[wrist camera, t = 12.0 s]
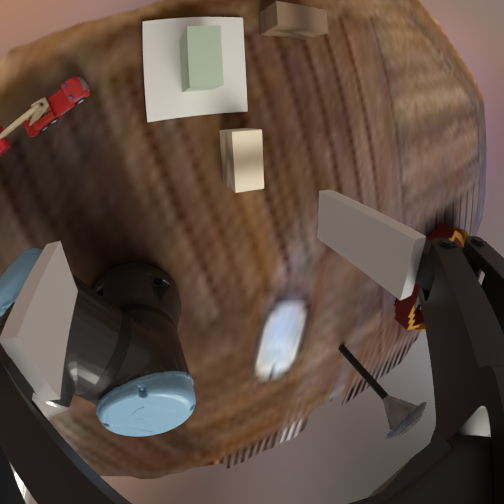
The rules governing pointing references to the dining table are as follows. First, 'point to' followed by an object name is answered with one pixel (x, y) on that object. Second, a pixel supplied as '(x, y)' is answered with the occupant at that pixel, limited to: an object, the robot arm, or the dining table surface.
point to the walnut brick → (293, 21)
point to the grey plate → (169, 70)
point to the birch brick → (242, 159)
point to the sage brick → (201, 58)
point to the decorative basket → (405, 307)
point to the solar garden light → (390, 402)
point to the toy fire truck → (47, 110)
